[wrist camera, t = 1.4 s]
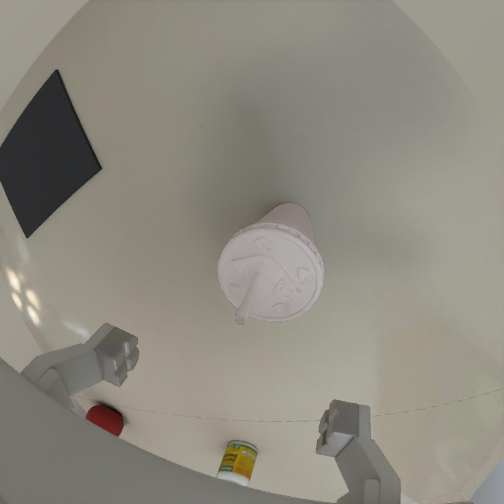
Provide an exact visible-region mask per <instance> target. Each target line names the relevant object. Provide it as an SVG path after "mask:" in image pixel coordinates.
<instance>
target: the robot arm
mask: <svg viewBox="0 0 504 504" xmlns="http://www.w3.org/2000/svg"><path fill="white" fill-rule="evenodd" d="M137 344H138V337H136V336H134V335H132V334H130V333H128V332H126V331H124V330H121V329H119V328H117V327H115V326H113V325H111V324H109V323H105V324H103V325H102V326H101V327H100V328H99V329H98V330H97V331H96V332H95V333H94V334H93V335H92V337H91V338H90V339H89V340H88V341H87V342H86V343H85V344H84V345H83V344H77V345H74V346H71V347H67V348H64V349H60V350H57V351H53V352H50V353H46V354H43V355H40V356H37V357H36V358H35V359H34V360H33V361H32V362H31V363H30V364H29V365H28V366H27V367H26V368H25V369H24V370H23V371H22V372H21V373H19V372H18V371H16V370H15V369H14V368H13V367H11V366H10V365H9V364H8V363H7V362H6V361H4V360H3V359H2V358H1V357H0V504H400V495H401V485H400V479H399V477H398V476H397V474H396V472H395V471H394V469H393V468H392V466H391V465H390V463H389V462H388V460H387V459H386V457H385V456H384V454H383V453H382V451H381V450H380V448H379V447H378V445H377V444H376V442H375V441H374V440H372V439H371V425H370V407H369V406H365V405H360V404H356V403H350V402H345V401H340V400H335V399H334V400H333V401H332V402H331V403H330V407H329V409H328V410H326V411H325V412H324V414H323V416H322V418H321V421H320V425H319V433H320V434H321V436H320V437H319V439H318V440H317V446H316V454H321V455H325V456H331V457H335V460H336V462H337V465H338V467H339V469H340V471H341V474H342V476H343V478H344V480H345V483H346V485H347V487H348V489H349V492H348V493H346V494H345V495H343V496H342V497H340V498H339V499H337V503H329V502H321V501H314V500H307V499H301V498H295V497H290V496H285V495H280V494H275V493H270V492H266V491H261V490H257V489H253V488H249V487H246V486H242V485H238V484H235V483H231V482H228V481H225V480H221V479H218V478H215V477H212V476H209V475H206V474H203V473H200V472H197V471H194V470H192V469H189V468H186V467H184V466H181V465H178V464H176V463H173V462H171V461H169V460H166V459H164V458H161V457H159V456H157V455H154V454H152V453H150V452H148V451H146V450H143V449H141V448H139V447H137V446H135V445H133V444H131V443H129V442H127V441H125V440H123V439H121V438H119V437H117V436H115V435H113V434H111V433H109V432H108V431H106V430H104V429H102V428H100V427H99V426H97V425H95V424H93V423H92V422H90V421H88V420H87V419H85V418H83V417H82V416H80V415H78V414H77V413H75V412H73V411H72V409H73V408H74V406H73V403H72V401H71V399H70V396H71V395H73V394H75V393H77V392H79V391H82V390H84V389H86V388H88V387H90V386H92V385H94V384H97V383H99V382H101V381H103V380H105V381H107V382H109V383H111V384H113V385H116V386H118V387H120V386H121V385H122V384H123V382H124V381H125V379H126V378H127V372H128V371H131V370H133V368H134V367H135V366H136V364H137V361H138V358H139V350H138V348H137V347H136V345H137ZM446 504H473V503H472V502H469V501H462V502H455V503H446Z"/></svg>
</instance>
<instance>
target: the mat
mask: <svg viewBox="0 0 504 504" xmlns="http://www.w3.org/2000/svg"><path fill="white" fill-rule="evenodd" d="M101 169H102V168H101V166H100V164H99V162H98V160H97V158H96V156H95V154H94V152H93V150H92V147H91V145H90V143H89V141H88V139H87V137H86V135H85V133H84V130H83V128H82V126H81V124H80V122H79V119H78V117H77V115H76V113H75V110H74V108H73V106H72V103H71V101H70V99H69V96H68V94H67V91H66V89H65V87H64V84H63V82H62V79H61V77H60V74H59V72H58V70H55V71H54V72H53V73H52V75H51V76H50V77H49V78H48V80H47V81H46V82H45V83H44V85H43V86H42V87H41V88H40V90H39V91H38V92H37V93H36V95H35V96H34V97H33V99H32V100H31V102H30V103H29V104H28V106H27V107H26V108H25V110H24V111H23V113H22V114H21V116H20V117H19V119H18V120H17V122H16V123H15V125H14V126H13V128H12V129H11V131H10V132H9V134H8V136H7V137H6V139H5V140H4V142H3V144H2V145H1V147H0V181H1V183H2V186H3V188H4V191H5V193H6V196H7V198H8V200H9V202H10V205H11V207H12V209H13V211H14V214H15V216H16V218H17V220H18V222H19V224H20V226H21V228H22V230H23V232H24V234H25V236H26V238H28V237H29V236H30V235H31V234H32V233H33V232H34V231H35V230H36V229H37V228H38V227H39V226H40V225H41V224H42V223H43V222H44V221H45V220H46V219H47V218H48V217H49V216H50V215H51V214H52V213H53V212H54V211H55V210H56V209H57V208H58V207H59V206H60V205H61V204H62V203H64V202H65V201H66V200H67V199H68V198H69V197H70V196H71V195H72V194H73V193H74V192H76V191H77V190H78V189H79V188H80V187H81V186H82V185H84V184H85V183H86V182H87V181H88V180H89V179H90V178H92V177H93V176H94V175H95V174H96V173H98V172H99V171H100V170H101Z"/></svg>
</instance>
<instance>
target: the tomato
mask: <svg viewBox="0 0 504 504" xmlns="http://www.w3.org/2000/svg"><path fill="white" fill-rule="evenodd" d="M86 419H87V420H88V421H90V422H92V423H93V424H95V425H97V426H99V427H100V428H102V429H104V430H106V431H108V432H109V433H111V434H113V435H115V436H117V437H118V436H119V435H120V434H121V432H122V429H123V427H124V424H123V419H122V417H121V416H120V414H119V413H117V412H115V411H114V410H112V409H110V408H109V407H106V406H104V405H96V406H94V407H92V408H91V409H90V410H89V411H88V413H87V415H86Z"/></svg>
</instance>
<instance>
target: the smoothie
mask: <svg viewBox="0 0 504 504" xmlns="http://www.w3.org/2000/svg"><path fill="white" fill-rule="evenodd" d="M217 273H218V280H219V284H220V286H221V289H222V291H223V293H224V294H225V296H226V297H227V299H228V300H229V301H230V302H231V303H232V304H233V305H234V306H235V307H236V308H237V309H238V312H237V314H236V316H235V318H234V321H235V323H236V324H238V325H244V324H245V323H246V320H247V318H248V316H250V317H253V318H255V319H259V320H263V321H268V322H282V321H288V320H291V319H294V318H297V317H299V316H301V315H303V314H304V313H306V312H307V311H308V310H309V309H310V308H311V307H312V306H313V305H314V304H315V302H316V301H317V299H318V297H319V295H320V292H321V288H322V284H323V279H324V268H323V261H322V259H321V257H320V254H319V252H318V250H317V248H316V247H315V244H314V238H313V232H312V227H311V221H310V218H309V215H308V213H307V212H306V211H305V210H304V209H303V208H302V207H301V206H299V205H297V204H294V203H283V204H280V205H278V206H276V207H275V208H274V209H273V210H271V211H270V212H269V213H268V214H266V215H265V216H264V217H263V218H262V219H260V220H259V221H258V222H257V223H255V224H253V225H250V226H248V227H245V228H243V229H241V230H240V231H238V232H237V233H236V234H235V235H233V236H232V237H231V238H230V240H229V241H228V243H227V244H226V246H225V247H224V249H223V251H222V253H221V255H220V257H219V261H218V268H217Z"/></svg>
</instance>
